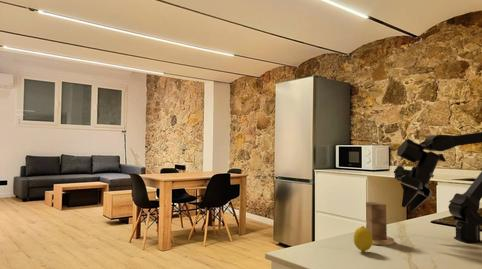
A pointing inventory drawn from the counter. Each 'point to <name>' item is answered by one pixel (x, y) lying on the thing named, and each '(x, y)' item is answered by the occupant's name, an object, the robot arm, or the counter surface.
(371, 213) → the walnut block
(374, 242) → the cork trivet
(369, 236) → the lemon
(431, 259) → the counter surface
